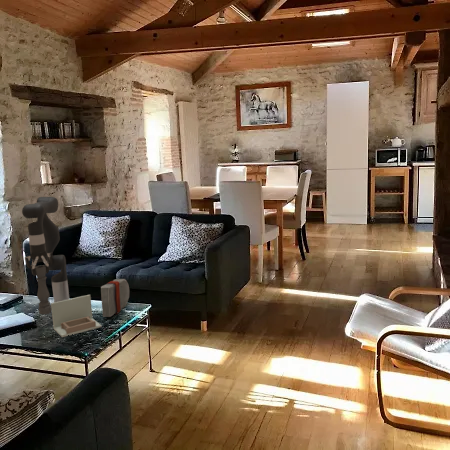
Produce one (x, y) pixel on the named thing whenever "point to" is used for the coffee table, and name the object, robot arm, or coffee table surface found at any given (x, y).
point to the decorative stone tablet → (114, 297)
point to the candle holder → (42, 290)
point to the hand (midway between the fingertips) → (40, 274)
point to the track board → (73, 316)
